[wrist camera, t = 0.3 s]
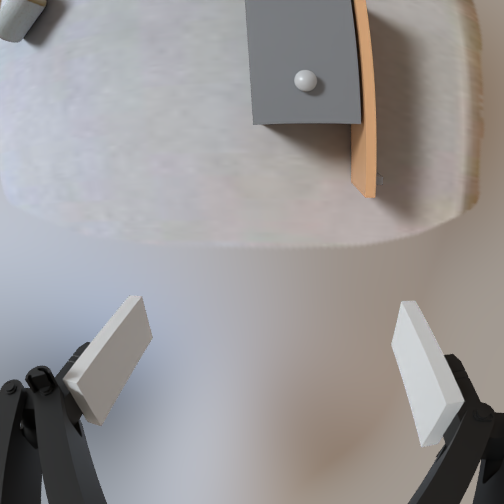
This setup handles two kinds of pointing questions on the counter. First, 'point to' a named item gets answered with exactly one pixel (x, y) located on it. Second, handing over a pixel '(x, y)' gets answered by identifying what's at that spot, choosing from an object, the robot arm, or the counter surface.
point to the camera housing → (303, 62)
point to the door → (364, 109)
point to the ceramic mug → (19, 18)
